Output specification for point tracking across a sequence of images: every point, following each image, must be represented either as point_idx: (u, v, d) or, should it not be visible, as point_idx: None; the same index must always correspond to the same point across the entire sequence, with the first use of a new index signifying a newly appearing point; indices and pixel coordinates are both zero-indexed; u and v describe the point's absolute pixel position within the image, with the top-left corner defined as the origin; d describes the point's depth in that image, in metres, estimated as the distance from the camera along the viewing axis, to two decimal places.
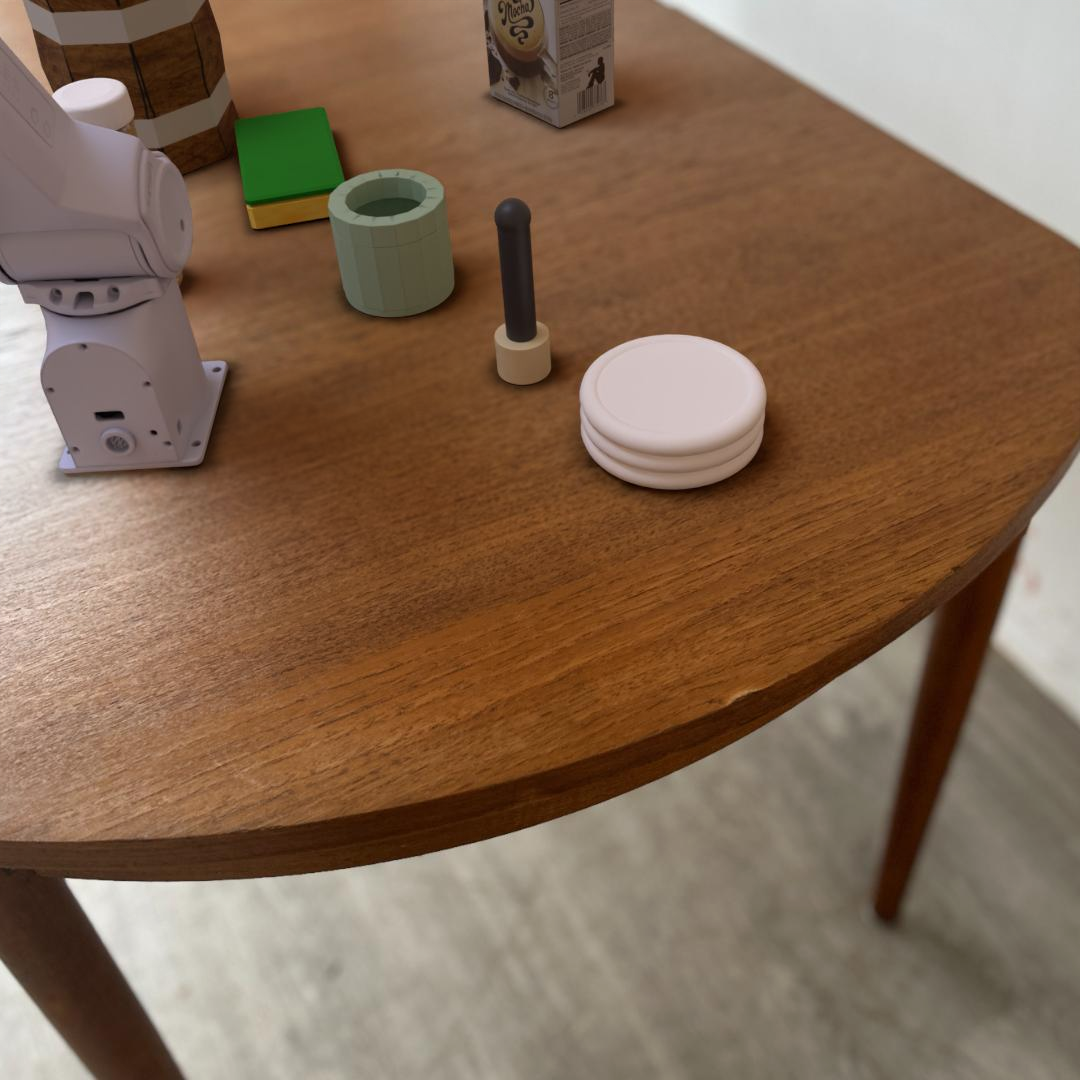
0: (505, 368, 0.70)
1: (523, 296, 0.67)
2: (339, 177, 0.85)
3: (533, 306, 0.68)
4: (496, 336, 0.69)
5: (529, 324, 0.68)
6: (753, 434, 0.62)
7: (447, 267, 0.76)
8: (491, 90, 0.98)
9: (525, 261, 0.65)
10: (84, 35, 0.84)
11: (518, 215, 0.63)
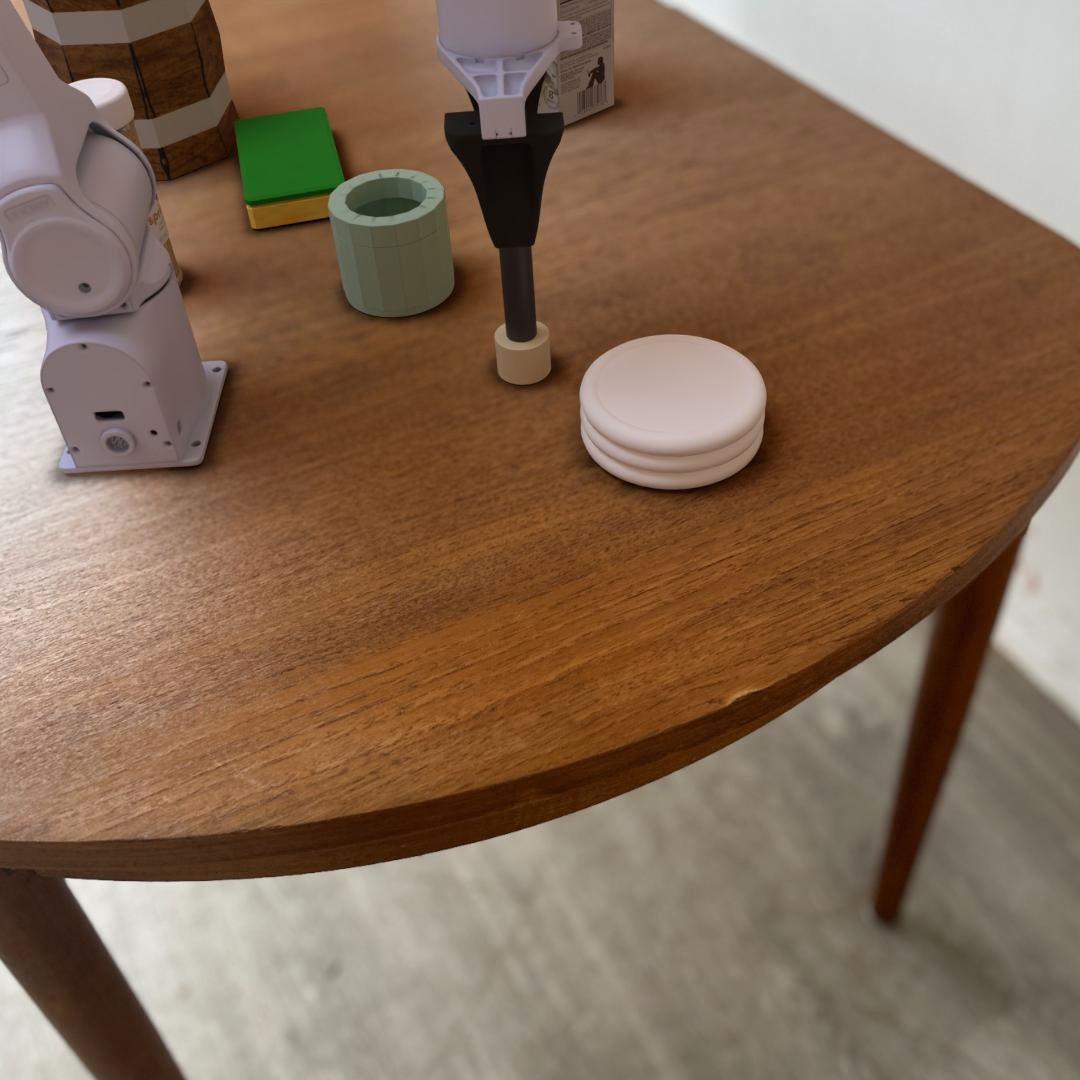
0: (505, 368, 0.70)
1: (523, 296, 0.67)
2: (339, 177, 0.85)
3: (533, 306, 0.68)
4: (496, 336, 0.69)
5: (529, 324, 0.68)
6: (753, 434, 0.62)
7: (447, 267, 0.76)
8: None
9: (525, 261, 0.65)
10: (84, 35, 0.84)
11: None
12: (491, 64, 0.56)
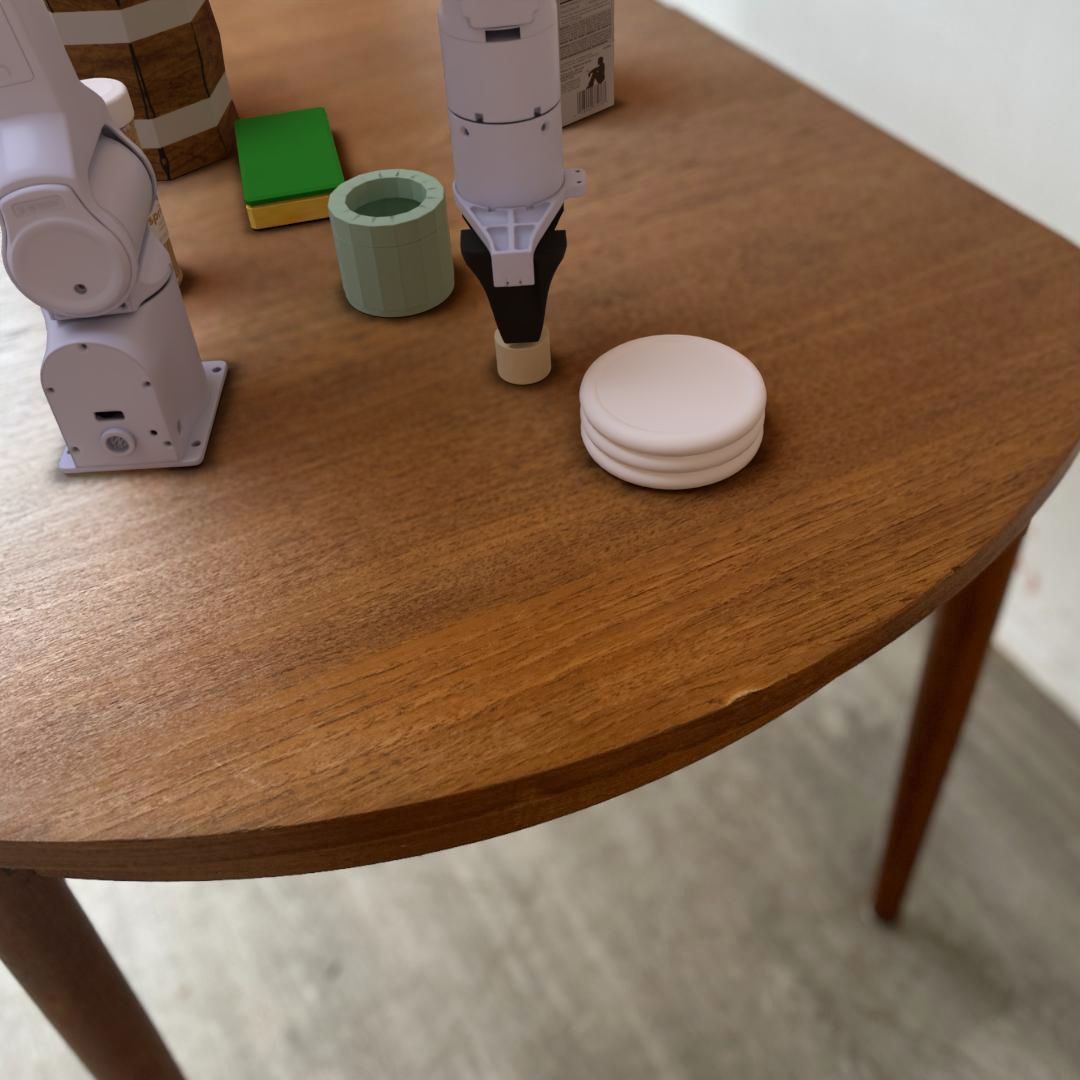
0: (505, 368, 0.70)
1: None
2: (339, 177, 0.85)
3: None
4: (496, 336, 0.69)
5: None
6: (753, 434, 0.62)
7: (447, 267, 0.76)
8: None
9: None
10: (84, 35, 0.84)
11: None
12: (503, 214, 0.61)
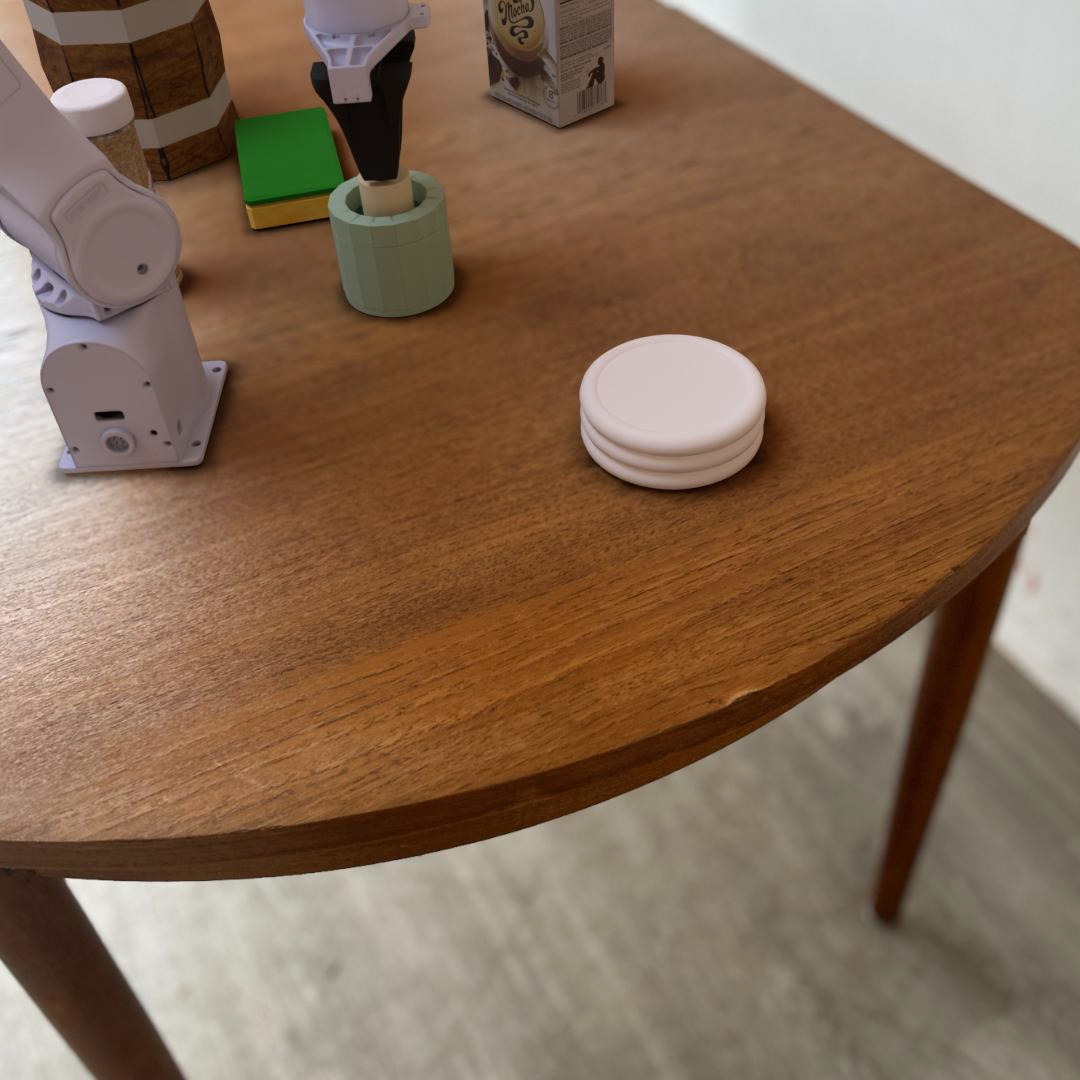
0: (368, 207, 0.73)
1: None
2: (338, 177, 0.85)
3: None
4: (359, 176, 0.73)
5: None
6: (753, 434, 0.62)
7: (447, 267, 0.76)
8: (491, 90, 0.98)
9: None
10: (84, 35, 0.84)
11: None
12: (346, 40, 0.64)
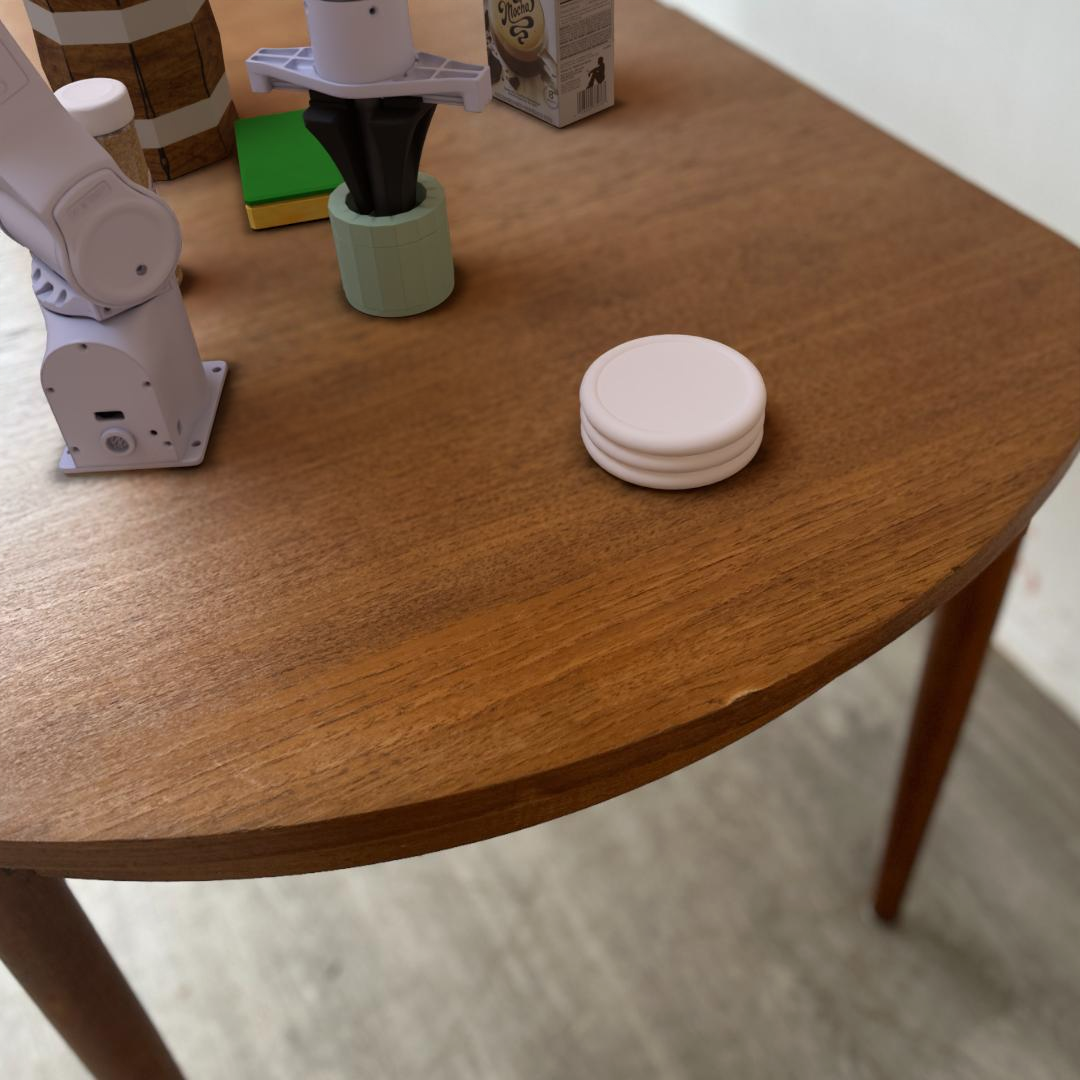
0: None
1: None
2: (338, 177, 0.85)
3: None
4: None
5: None
6: (753, 434, 0.62)
7: (447, 267, 0.76)
8: None
9: None
10: (84, 35, 0.84)
11: None
12: (412, 73, 0.67)
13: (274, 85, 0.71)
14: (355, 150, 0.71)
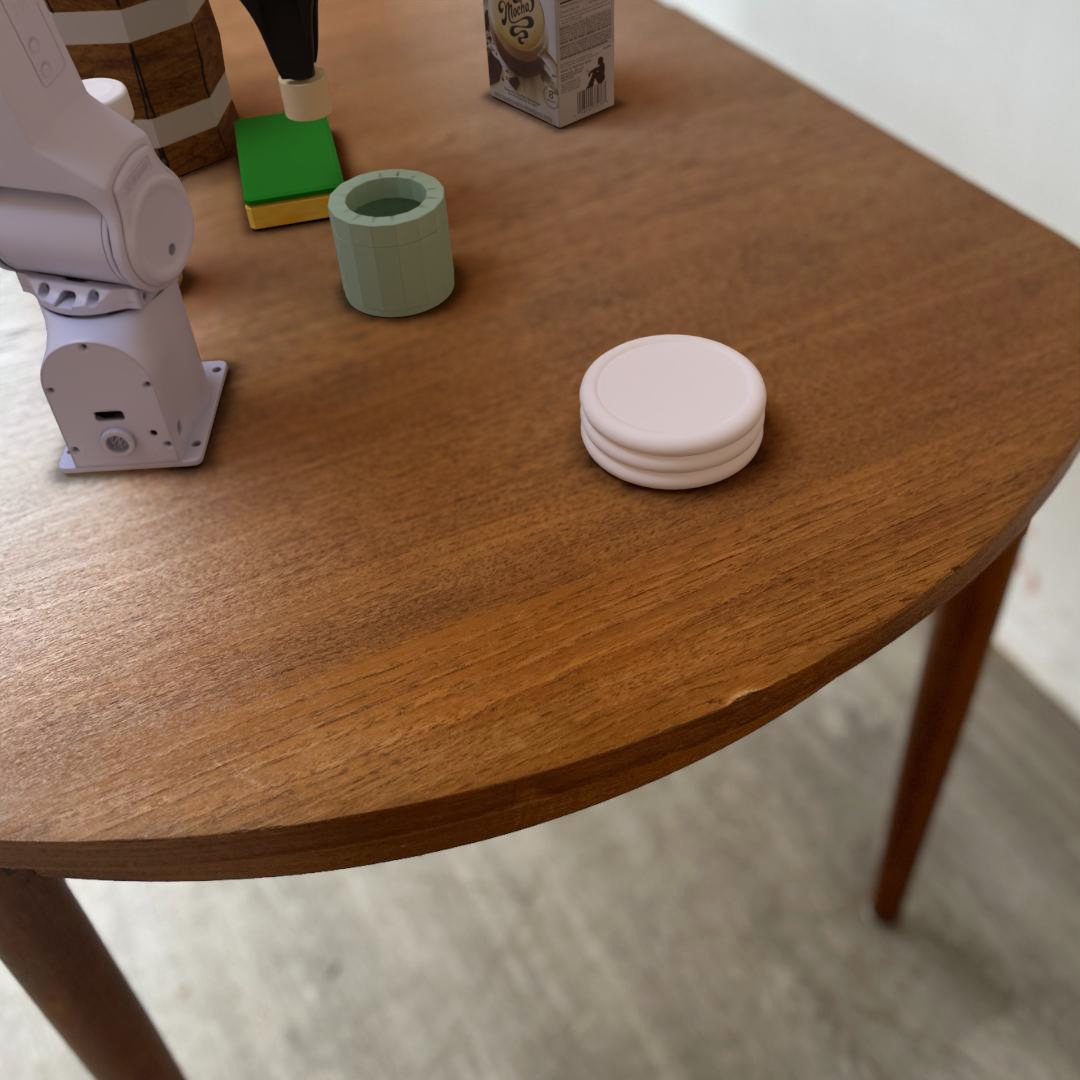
0: (288, 106, 0.79)
1: None
2: (338, 177, 0.85)
3: None
4: (279, 77, 0.79)
5: None
6: (753, 434, 0.62)
7: (447, 267, 0.76)
8: (491, 90, 0.98)
9: None
10: (84, 35, 0.84)
11: None
12: None
13: None
14: None
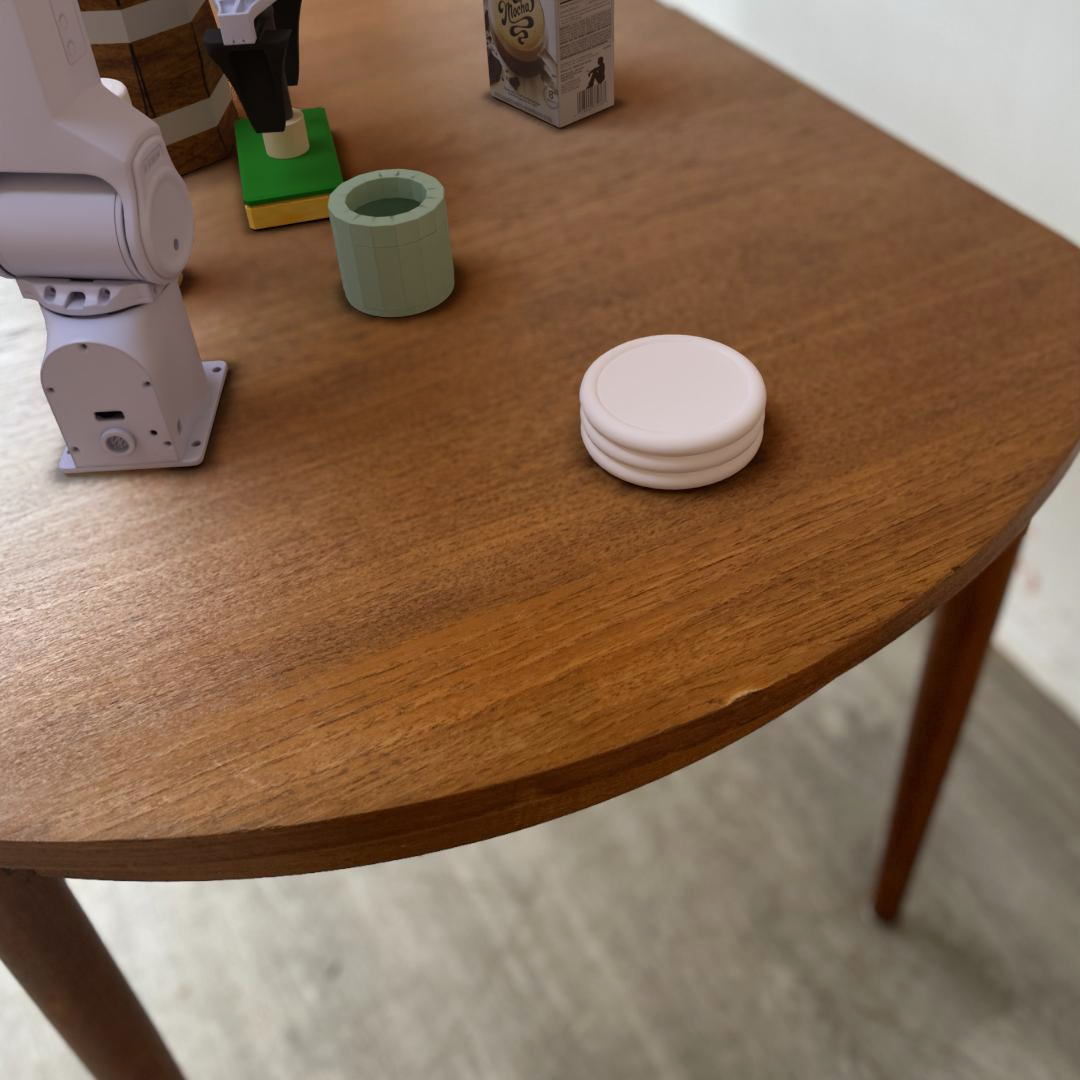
0: (268, 145, 0.87)
1: None
2: (338, 178, 0.85)
3: (285, 90, 0.85)
4: None
5: None
6: (753, 434, 0.62)
7: (447, 267, 0.76)
8: (491, 90, 0.98)
9: None
10: None
11: None
12: None
13: None
14: None
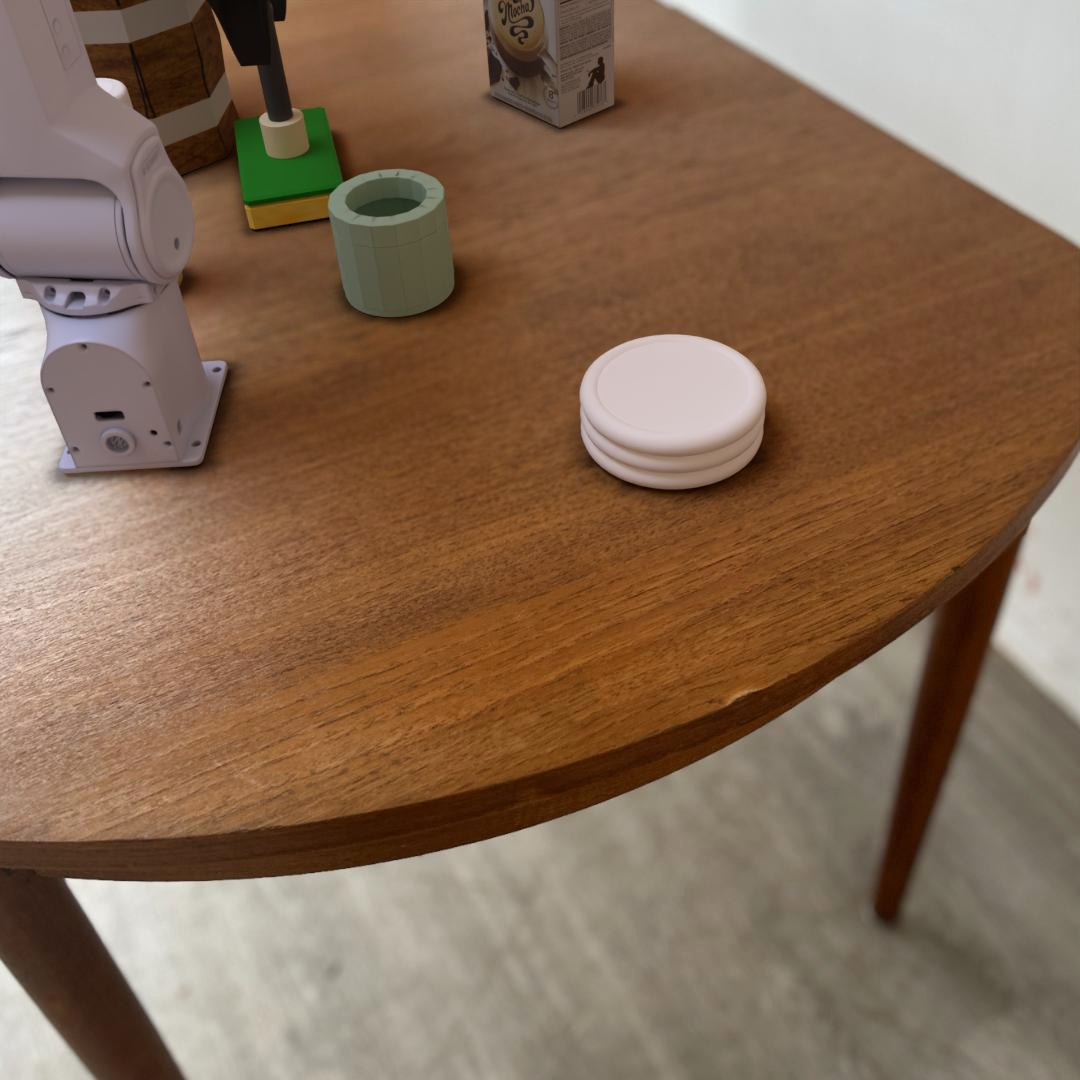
0: (268, 145, 0.87)
1: (274, 80, 0.84)
2: (337, 178, 0.85)
3: (285, 90, 0.85)
4: (260, 118, 0.87)
5: (283, 106, 0.85)
6: (753, 434, 0.62)
7: (447, 267, 0.76)
8: (491, 90, 0.98)
9: None
10: (84, 35, 0.84)
11: None
12: None
13: None
14: None
